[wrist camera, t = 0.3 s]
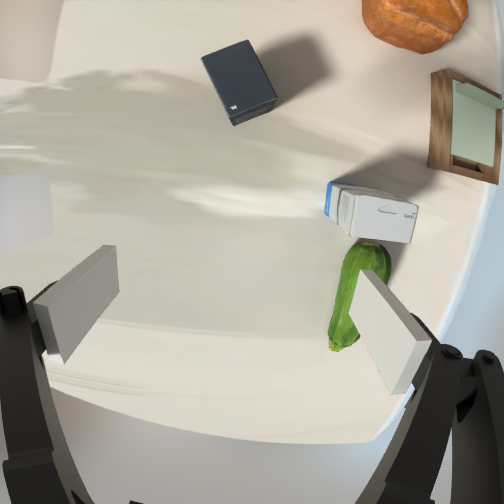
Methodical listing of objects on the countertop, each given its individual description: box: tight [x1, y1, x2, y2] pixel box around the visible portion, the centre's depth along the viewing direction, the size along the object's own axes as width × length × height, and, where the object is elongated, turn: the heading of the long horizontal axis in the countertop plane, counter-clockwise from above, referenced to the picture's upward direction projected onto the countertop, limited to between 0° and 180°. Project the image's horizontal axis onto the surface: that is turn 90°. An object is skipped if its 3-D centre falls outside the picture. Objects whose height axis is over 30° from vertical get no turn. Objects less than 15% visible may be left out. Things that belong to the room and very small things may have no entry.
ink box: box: [325, 182, 419, 243], centre depth 36 cm, size 8×5×12 cm, turn 85°
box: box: [200, 40, 277, 126], centre depth 32 cm, size 8×6×11 cm
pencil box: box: [428, 69, 502, 185], centre depth 35 cm, size 16×13×5 cm
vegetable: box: [328, 242, 391, 352], centre depth 43 cm, size 7×7×20 cm
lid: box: [450, 79, 504, 167], centre depth 32 cm, size 12×10×4 cm
